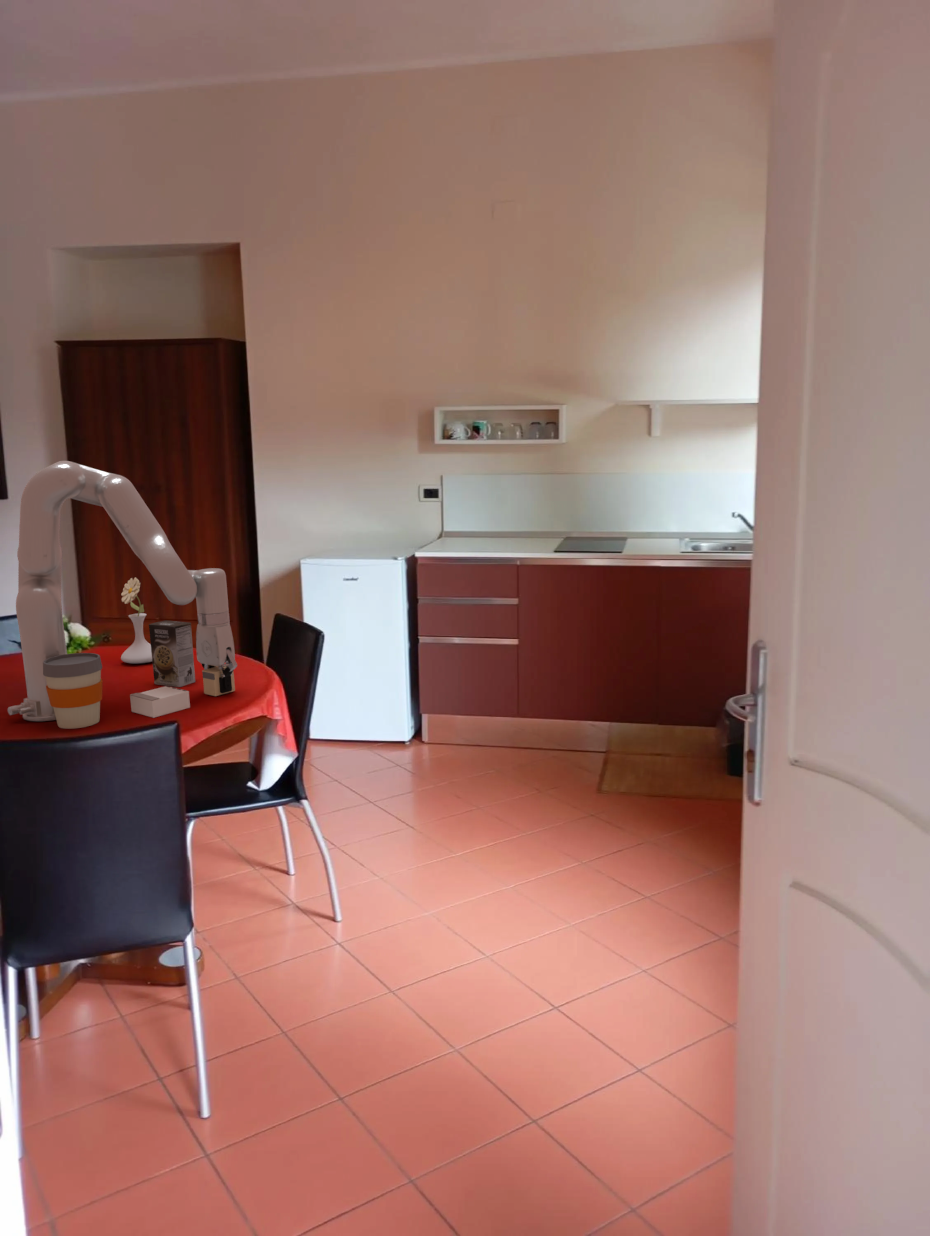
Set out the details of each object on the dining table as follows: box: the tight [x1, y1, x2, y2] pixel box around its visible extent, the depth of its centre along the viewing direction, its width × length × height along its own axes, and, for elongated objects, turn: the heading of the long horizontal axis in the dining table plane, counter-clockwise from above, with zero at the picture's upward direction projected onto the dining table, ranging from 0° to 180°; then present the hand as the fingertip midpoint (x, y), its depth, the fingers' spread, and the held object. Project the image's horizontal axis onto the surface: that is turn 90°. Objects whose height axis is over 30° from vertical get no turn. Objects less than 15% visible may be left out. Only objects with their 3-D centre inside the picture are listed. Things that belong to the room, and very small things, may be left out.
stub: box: [201, 666, 236, 697], centre depth 247 cm, size 6×4×6 cm
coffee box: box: [148, 620, 196, 688], centre depth 258 cm, size 9×6×16 cm
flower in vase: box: [120, 577, 152, 665], centre depth 282 cm, size 13×11×25 cm
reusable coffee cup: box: [43, 652, 103, 730], centre depth 225 cm, size 13×13×15 cm
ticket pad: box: [129, 685, 191, 719], centre depth 234 cm, size 10×9×4 cm
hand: (219, 689), depth 247 cm, fingers closed on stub, 4 cm apart
